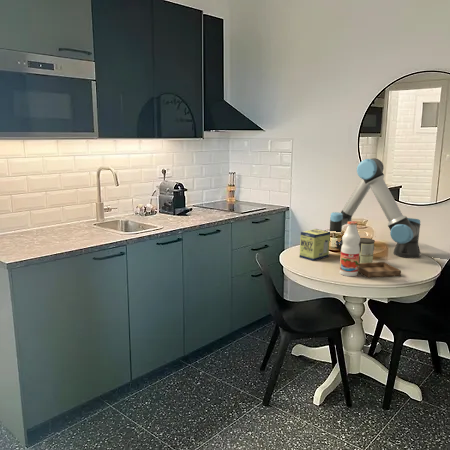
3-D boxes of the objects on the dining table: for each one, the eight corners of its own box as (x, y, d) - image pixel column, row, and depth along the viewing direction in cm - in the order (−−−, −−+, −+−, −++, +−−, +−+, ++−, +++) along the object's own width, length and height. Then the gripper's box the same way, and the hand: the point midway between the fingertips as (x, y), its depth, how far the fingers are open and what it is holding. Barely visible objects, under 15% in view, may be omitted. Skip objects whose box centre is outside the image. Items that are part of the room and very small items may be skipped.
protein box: (298, 257, 268) (300, 231, 265) (314, 253, 278) (316, 228, 275) (313, 261, 261) (314, 235, 257) (329, 256, 271) (330, 231, 268)
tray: (383, 267, 251) (384, 261, 251) (400, 276, 236) (401, 270, 236) (352, 268, 247) (352, 263, 247) (367, 278, 232) (368, 272, 231)
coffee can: (350, 263, 257) (352, 239, 254) (358, 260, 264) (360, 236, 262) (368, 267, 250) (370, 242, 247) (375, 263, 258) (377, 239, 255)
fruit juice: (357, 272, 242) (361, 220, 236) (357, 277, 233) (362, 224, 227) (339, 270, 244) (343, 219, 238) (339, 275, 235) (342, 222, 229)
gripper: (360, 245, 283) (378, 254, 263) (323, 247, 278) (338, 256, 258) (360, 234, 282) (379, 242, 262) (323, 235, 276) (339, 243, 256)
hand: (359, 249), depth 260 cm, fingers open, 13 cm apart
